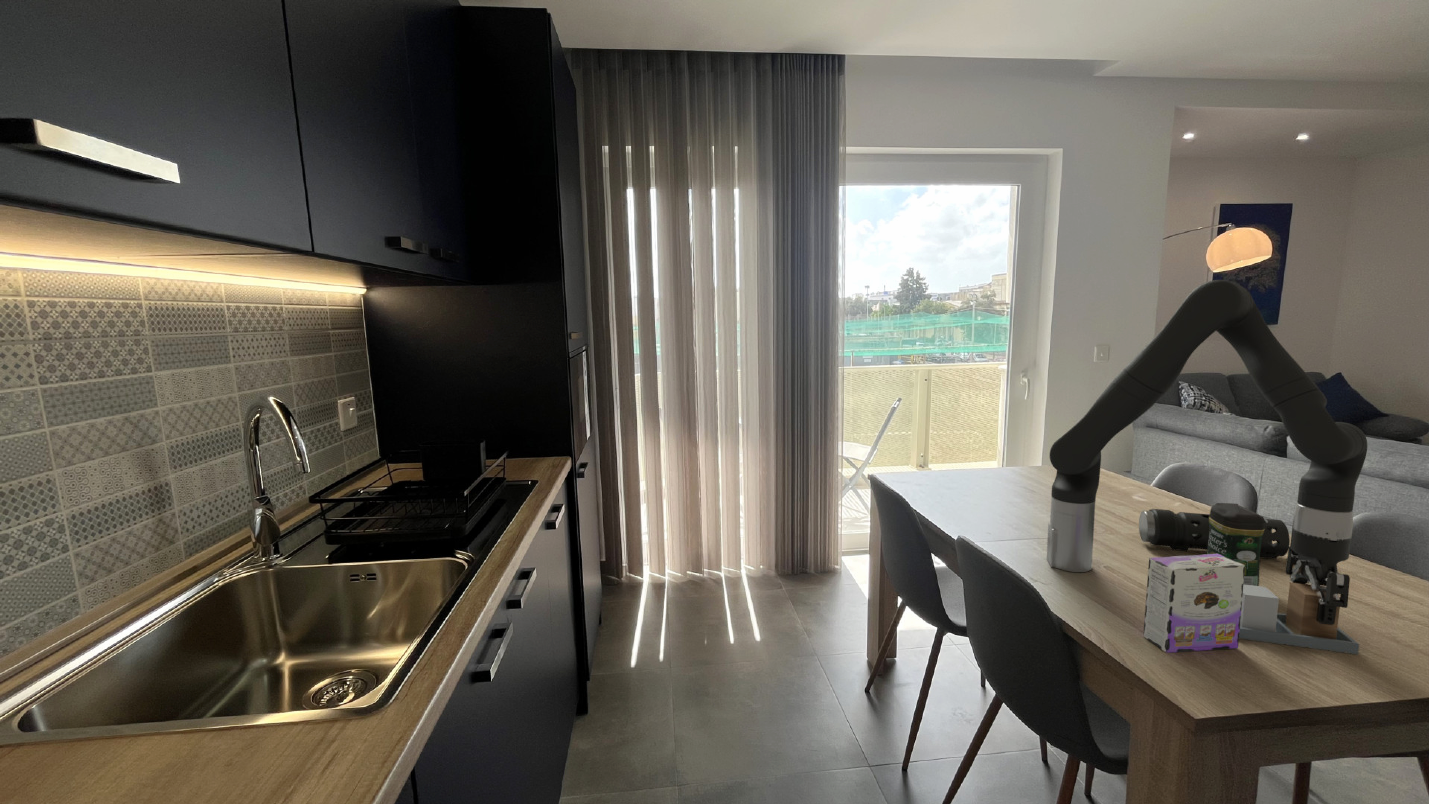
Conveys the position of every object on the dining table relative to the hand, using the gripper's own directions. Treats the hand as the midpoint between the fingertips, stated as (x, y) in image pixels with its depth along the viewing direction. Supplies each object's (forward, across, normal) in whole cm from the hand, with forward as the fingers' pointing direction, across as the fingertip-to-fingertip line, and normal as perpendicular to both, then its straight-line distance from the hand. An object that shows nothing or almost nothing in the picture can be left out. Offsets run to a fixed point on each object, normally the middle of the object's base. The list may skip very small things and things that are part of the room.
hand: (1311, 612), depth 108 cm
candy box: (+5, +9, -21) cm, 24 cm away
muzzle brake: (+5, -42, -1) cm, 42 cm away
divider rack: (+5, 0, -4) cm, 7 cm away
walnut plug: (+5, 0, 0) cm, 5 cm away
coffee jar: (+5, -21, -4) cm, 22 cm away
